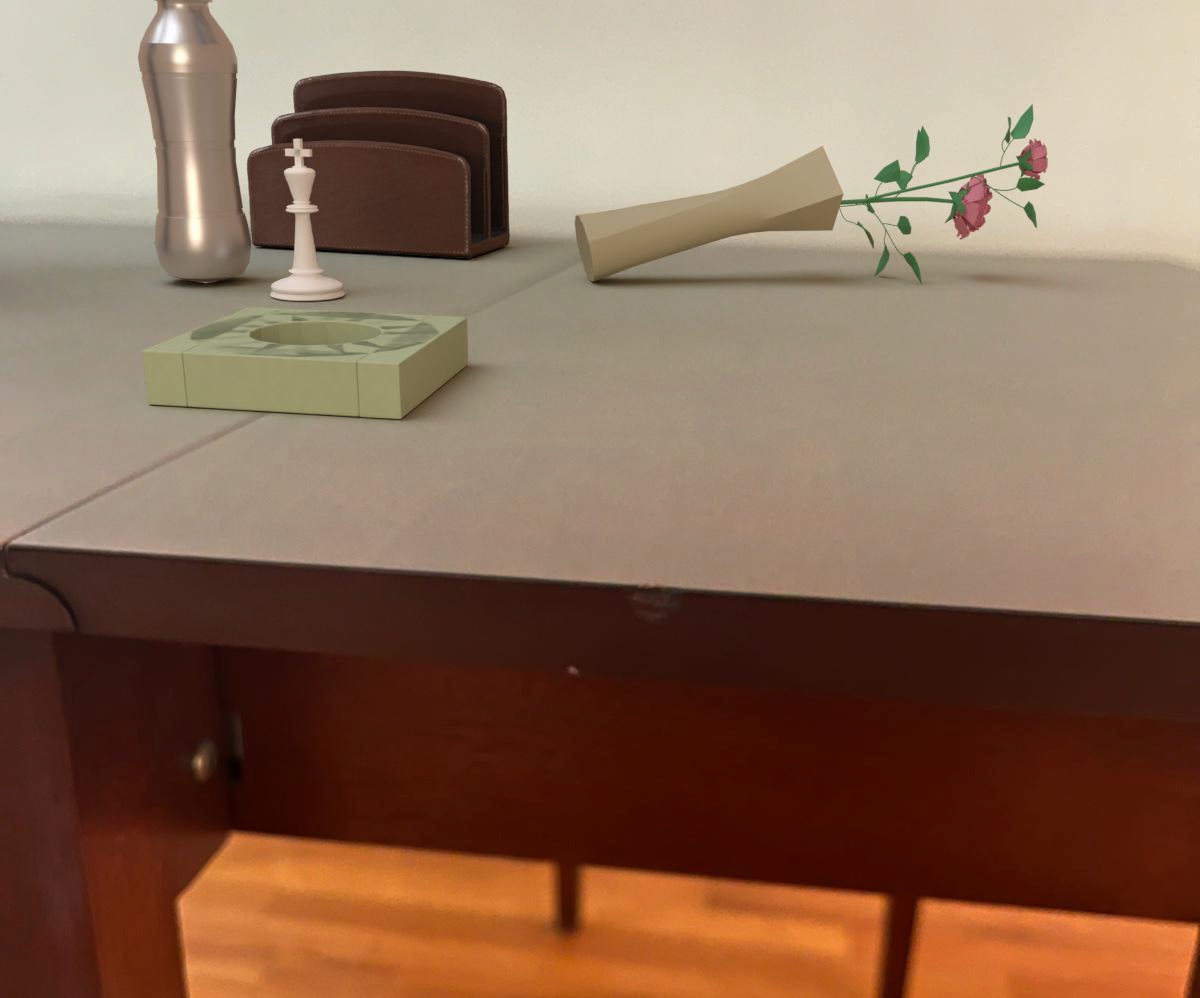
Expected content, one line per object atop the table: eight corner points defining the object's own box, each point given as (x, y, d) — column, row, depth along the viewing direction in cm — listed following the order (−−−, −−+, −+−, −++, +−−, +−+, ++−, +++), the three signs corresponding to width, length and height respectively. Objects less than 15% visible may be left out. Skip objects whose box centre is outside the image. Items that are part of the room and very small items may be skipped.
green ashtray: (147, 404, 60) (141, 350, 59) (252, 353, 71) (248, 306, 70) (401, 419, 59) (399, 363, 58) (468, 364, 70) (467, 316, 69)
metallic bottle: (138, 283, 93) (103, -32, 85) (204, 271, 98) (177, -25, 91) (210, 291, 90) (181, -33, 83) (274, 278, 96) (252, -26, 88)
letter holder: (306, 235, 120) (295, 68, 115) (511, 246, 116) (510, 72, 110) (250, 247, 112) (236, 67, 106) (470, 260, 107) (466, 72, 101)
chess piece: (329, 302, 87) (319, 141, 83) (258, 299, 87) (245, 139, 84) (355, 291, 91) (347, 138, 87) (287, 288, 92) (276, 136, 88)
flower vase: (602, 371, 103) (1013, 265, 108) (627, 355, 91) (1089, 236, 95) (563, 221, 102) (981, 120, 106) (583, 185, 90) (1054, 72, 94)
